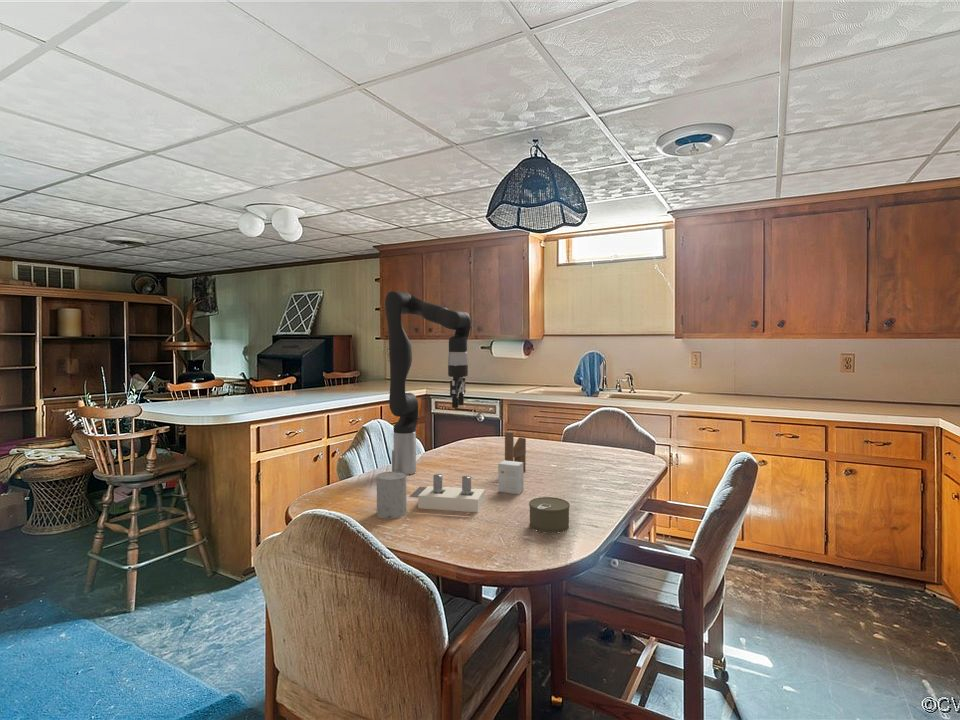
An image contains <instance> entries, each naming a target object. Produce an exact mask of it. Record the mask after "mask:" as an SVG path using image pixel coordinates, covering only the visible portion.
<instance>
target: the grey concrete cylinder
mask: <svg viewBox="0 0 960 720" xmlns="http://www.w3.org/2000/svg"><path fill="white" fill-rule="evenodd" d="M375 476H376V477H375V478H376V516H377V518H380V519H385V520H391V519H392V520H393V519H398V518H403V517H405V516H406V515H407V513H408V510H407V506H408V503H407V497H408V496H407V476H408V475H406V473H403V472H396V471H392V470H391V471H385V472H384V471H383V472H380V473H377V474H376V475H375ZM404 515H405V516H404Z"/></svg>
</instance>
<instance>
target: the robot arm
mask: <svg viewBox="0 0 960 720" xmlns="http://www.w3.org/2000/svg"><path fill="white" fill-rule="evenodd" d="M384 299H385V300H384V306H385V307H384V308H385V315H386V322H387V323H386V324H387V330H388V332H387V333H388V352H389V353H388V357H389V358H388V359H389V372H390V373H389V380H390V382H389V400H388V403H389V410H390V412H391V414H392V415H394V416H395V417H396V418H397V417H398V418H399V419H398V421H397V422H396V423H394V425H393V430H392V431H393V449H392V450H391V472H392V471H396V472H403V473H406V475H407V476H409V474H410V475H413V473H414V474H416V473H417V426H418V423H419V422H418V421H419V401H418V398H417V396H416V395H415V394H414V393H412V392H406V381H407V377H408V374H409V372H410V370H411V366H412V362H413V352H412V351H413V350H412V349H413V348H412V344H411V341H410V340H409V337H408V335H407V333H406V331H405V329H404V326H403V322H402V315H408V314H409V315H417V316H420V317H421V318H423V319H424V320H425V321H429V322H431V323H434V324H437V325H441V326H442V327H443V328H446V329H449V330H454V335H452V336H451V337H449V338H448V356H447V375H448V377H451V378H452V380H450V381H449V385H450V386H449V397H450V398H451V407H452V408H453V409H458V408H459V406H463V405H464V403H465V402H464V401H465V399H464V398H465V397H464V396H465V394H466V391H467V390H466V377H468V375H469V372H468V371H469V364H468V363H469V362H468V361H469V358H468V339H469V335H470V332H471V326H472V320H471V316H470V315H469V313H468V312H467V311H466V312H465V311H461V310H459V311H458V310H451V309H448V308H447V307H446V306H442V305H440V304H435V303H432V302H429V301H428V302H427V301H425V300H422V299H420V298H418V297H416V296H414V295H412V294H411V293H409V292H405V291H395V290H390V291H389V292H387V294H386V296H385V298H384ZM415 472H416V473H415Z"/></svg>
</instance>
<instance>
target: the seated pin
mask: <svg viewBox="0 0 960 720" xmlns="http://www.w3.org/2000/svg"><path fill="white" fill-rule="evenodd" d="M461 488H462V495H466V496H471V489H472V476H471V475H463V476H462V477H461Z"/></svg>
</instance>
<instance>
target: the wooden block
mask: <svg viewBox="0 0 960 720" xmlns="http://www.w3.org/2000/svg"><path fill="white" fill-rule="evenodd" d="M514 436H515V435H514V431H512V430H506V431H505V432H504V460H505V461H515V462H523V473H525V472H526V461H527V460H526V453H527V450H526V446H527V445H526V443H527V441H526V440H527V439H526V438H525V437H519V436H518V438H517V441H516V443H514Z"/></svg>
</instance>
